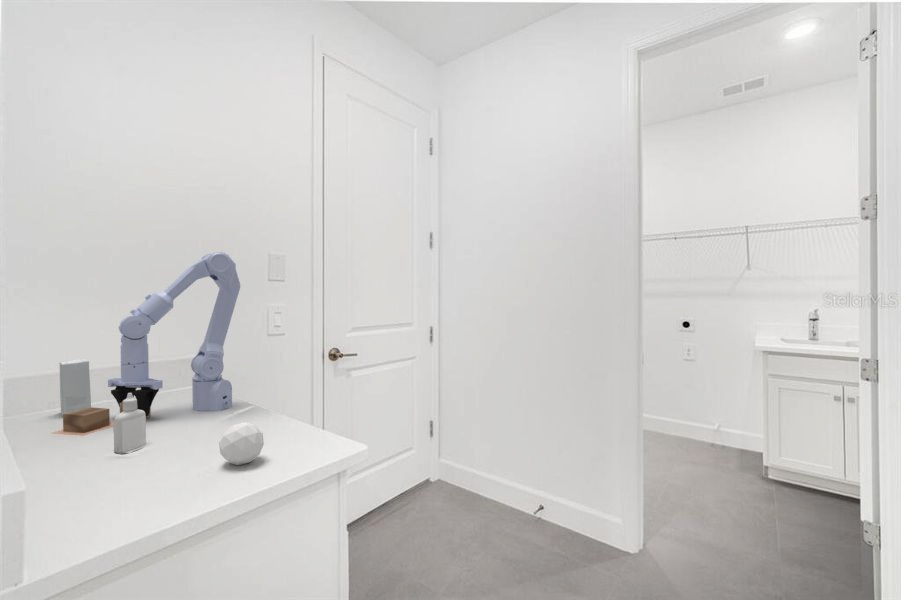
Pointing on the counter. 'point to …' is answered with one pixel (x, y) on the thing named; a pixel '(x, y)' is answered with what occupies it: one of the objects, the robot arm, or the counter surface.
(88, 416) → the walnut base block
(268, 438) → the counter surface
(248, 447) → the ball
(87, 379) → the skincare box
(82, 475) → the counter surface
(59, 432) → the grey square plate
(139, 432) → the eye dropper bottle
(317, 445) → the counter surface
